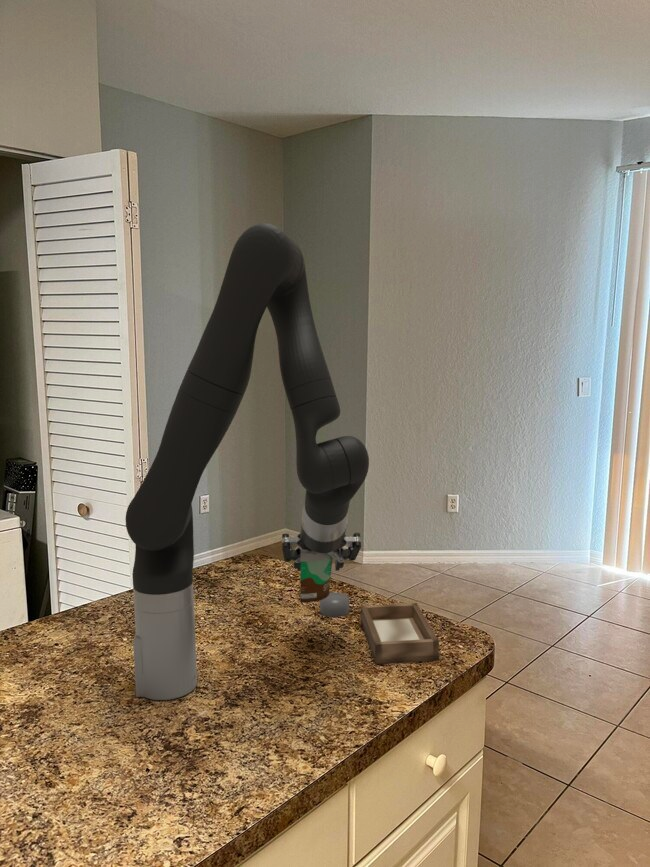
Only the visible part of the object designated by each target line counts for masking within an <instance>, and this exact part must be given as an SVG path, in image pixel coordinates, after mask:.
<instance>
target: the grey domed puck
mask: <svg viewBox="0 0 650 867" xmlns="http://www.w3.org/2000/svg"><path fill="white" fill-rule="evenodd" d="M319 613H320V614H321V615H322V616H324V617H328V618H341V617H345V616H346V615H348V614H350V597H349V595H348V594H346V593H343V592H336V591H335V592H334V591H333V592H332V591H331V592H329V595H328V597H327V598H325V599H323V600H319Z"/></svg>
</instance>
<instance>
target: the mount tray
mask: <svg viewBox="0 0 650 867" xmlns="http://www.w3.org/2000/svg"><path fill="white" fill-rule="evenodd" d="M360 622H361V623H360V624H361V626H362V629H363V632H364V635H365V637H366V641H367V643H368V646H369V649H370V652H371V654H372V657H373V660H374V663H375V665H380V664H381V665H383V664H385V665H386V664H398V663H417V662H434V661H439V659H440V640H439V638H438V637H437V636H436V634H435V632H434V630H433V628H432V627H431V625H430V623H429V622H428V620H427V619H426V617H425V615H424V613H423V612H422V609H421V607H420V606H419V605H418V603H417V602H414V603H412V602H411V603H394V604H393V603H392V604H372V605H371V604H370V605H361V606H360Z"/></svg>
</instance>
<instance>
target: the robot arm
mask: <svg viewBox="0 0 650 867" xmlns="http://www.w3.org/2000/svg"><path fill="white" fill-rule="evenodd" d="M307 279H308V278H307V272H306V264H305V259H304V255H303V251H302V250H301V248H300V246H299V244H297V242H295V241H294V239H292V238H291V237H290V236H289V235H288V234H286V232H284V231H283V230H282V229H281V228H279V227H278V226H276V225H273V224H271V223H267V222H263V223H261V222H260V223H257V224H253V225H252V226H250V227H249V228H247V229H245V230H244V231H243V232H242V233H241V235H240V236H239V237H238V239H237V240H236V242H235V244H234V245H233V249H232V251H231V253H230V256H229V260H228V263H227V267H226V270H225V273H224V277H223V280H222V283H221V286H220V290H219V293H218V295H217V298H216V301H215V304H214V306H213V310H212V312H211V315H210V317H209V319H208V321H207V324H206V326H205V328H204V330H203V333H202V334H201V337H200V340H199V343H198V345H197V347H196V350H195V352H194V354H193V356H192V358H191V361H189V362H190V363H189V364H188V367H187V369H186V371H185V373H184V374H185V375H184V377H183V379H182V382H181V384H180V386H179V388H178V390H177V394H176V396H175V399H174V401H173V404H172V407H171V410H170V413H169V416H168V419H167V422H166V423H165V424H166V425H165V428H164V431H163V434H162V438H161V441H160V444H159V447H158V451H157V453H156V455H155V457H154V459H153V461H152V463H151V465H150V468H149V469H148V471H147V473H146V475H145V477H144V479H143V481H142V482H141V484H140V486H139V488H138V490H137V491H136V493H135V494H134V496H133V498H132V499H131V500H130V502H129V504H128V506H127V509H126V511H125V518H124V519H125V528H126V532H127V534H128V536H129V538H130V540H131V541H132V542H133V543H134V544H135V546H134V547H135V552H134V560H133V561H134V562H133V567H132V588H133V589H132V590H133V591H132V592H133V607H134V608H133V609H134V624H135V625H134V626H135V627H134V628H135V634H134V637H133V638H132V639H133V640H132V646H133V664H134V666H133V667H134V680H135V682H134V683H135V685H134V686H135V697H136V698H140V697H142V698H147V699H149V700H153V701H168V700H174V699H175V700H176V699H177V698H178V699H179V698H181V697H184V696H186V695H188V694H189V693H191V692H192V691H194V690H195V688H197V684H198V669H197V668H198V667H197V645H196V644H197V643H196V642H197V641H196V625H195V624H196V623H195V622H196V621H195V620H196V619H195V600H194V599H195V597H194V596H195V595H194V577H193V576H194V572H193V571H194V562H195V561H194V560H195V559H194V557H195V552H194V551H195V548H194V547H195V544H194V543H195V542H194V515H193V514H194V513H193V512H194V511H193V505H192V503H193V500H194V496H195V494H196V491H197V489H198V485H199V483H200V481H201V477H202V476H203V473H204V471H205V469H206V467H207V466H208V464H209V462H210V461H211V459H212V457H213V456H214V454H215V453H216V451H217V449H218V447H219V446H220V444H221V442H222V441H223V439H224V437H225V435H226V434H227V432H228V430H229V428H230V427H231V424H232V422H233V420H234V419H235V416H236V414H237V412H238V409H239V407H240V405H241V402H242V400H243V398H244V395H245V393H246V391H247V388H248V385H249V382H250V379H251V373H252V367H253V363H254V362H253V361H254V354H255V352H254V351H255V343H256V337H257V334H258V333H257V332H258V330H259V325H260V323H261V321H262V319H263V318H262V317H263V316H264V314H265V311H266V309H267V310H268V313H269V315H270V317H271V320H272V324H273V326H274V330H275V335H276V341H277V350H278V362H279V369H280V374H281V380H282V386H283V387H284V392H285V396H286V398H287V401H288V405H289V408H290V411H291V412H290V413H291V415H292V419H293V423H294V430H295V432H294V433H295V444H296V447H295V448H296V450H295V451H296V452H295V453H296V454H295V455H296V456H295V457H296V464H295V466H296V474H297V477H298V481H299V483H300V484H301V486H302V487H303V488H304V489H305V496H304V497H305V498H304V504H303V508H302V512H301V523H300V524H301V525H300V532H299V533H298V534H297V535H296V536H290V535H289V533H282V535H281V548H282V554H283V560H284V562H291V561H293V568H294V570H295V569H296V570H297V572H301V562H300V559H301V549H304V550H308V551H307V554H314V555H315V554H317V553H326V554H328V555H330V556H331V557H332V560H334V569H335V571H336V572H337V571H338V572H339V571H340V569H343V567H344V565H345V562H346V560H349V561H350V562H353V561H355V560H356V559H357V557H358V555H359V552H360V551H361V548H362V540H361V533H360V532H354V533H353V535H352V536H346V531H347V527H348V523H349V507H350V502H351V500H352V499H353V498H354V497H355V495H356V493H357V492H358V491H359V490H360V488H362V485H363V483H364V482H365V480H366V478H367V476H368V473H369V466H370V458H369V454H368V450H367V448H366V445H365V444H364V443H363V441H361V440H360V439H358V438H357V437H355V436H352V435H343V436H339V437H336V438H332V439H329V440H328V439H327V440H325V441H322V442H319V443H317V440H316V438H317V434H318V431H319V430H320V429H322V428H323V427H325V426H327V425H328V424H331V423H332V422H334V421H336V420H337V419H338V418H339V417H340V416H341V408H340V403H339V399H338V397H337V392H336V391H335V390H336V389H335V386H334V384H333V380H332V377H331V373H330V371H329V368H328V365H327V362H326V361H327V360H326V358H325V354H324V352H323V349H322V346H321V342H320V339H319V335H318V332H317V328H316V325H315V320H314V316H313V311H312V307H311V301H310V300H311V299H310V294H309V287H308V280H307ZM296 545H297V546H296ZM346 545H348V546H347V548H344V547H345V546H346ZM295 546H296V547H295ZM294 547H295V548H294Z"/></svg>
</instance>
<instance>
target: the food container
mask: <svg viewBox="0 0 650 867" xmlns="http://www.w3.org/2000/svg"><path fill="white" fill-rule="evenodd" d="M307 551H308V550H304V549H301V559H300V562H301V571H300V581H299V582H300V584H299V585H300V586H299V587H300V588H299V589H300V591H299V595H300V597H299V602H300V603H315V602H320V600H323V599H325V598H327V597H328V595H329V593H330V588H331V580H332V579H331V576H332V567H333V558H332V557H331V556H330V555H328V554H326V553H317V554H315V555H314V554H307Z"/></svg>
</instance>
